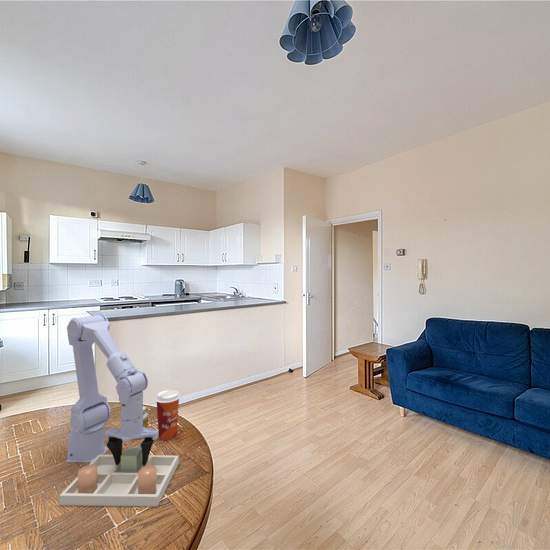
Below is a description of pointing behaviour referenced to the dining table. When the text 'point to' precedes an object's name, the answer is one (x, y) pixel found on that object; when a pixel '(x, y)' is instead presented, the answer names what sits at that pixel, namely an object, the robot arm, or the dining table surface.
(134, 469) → the pale green block
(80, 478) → the tan rounded cylinder
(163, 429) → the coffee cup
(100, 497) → the white compartment tray
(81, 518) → the dining table surface
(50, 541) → the dining table surface
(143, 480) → the tan rounded capsule part
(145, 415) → the supplement bottle
